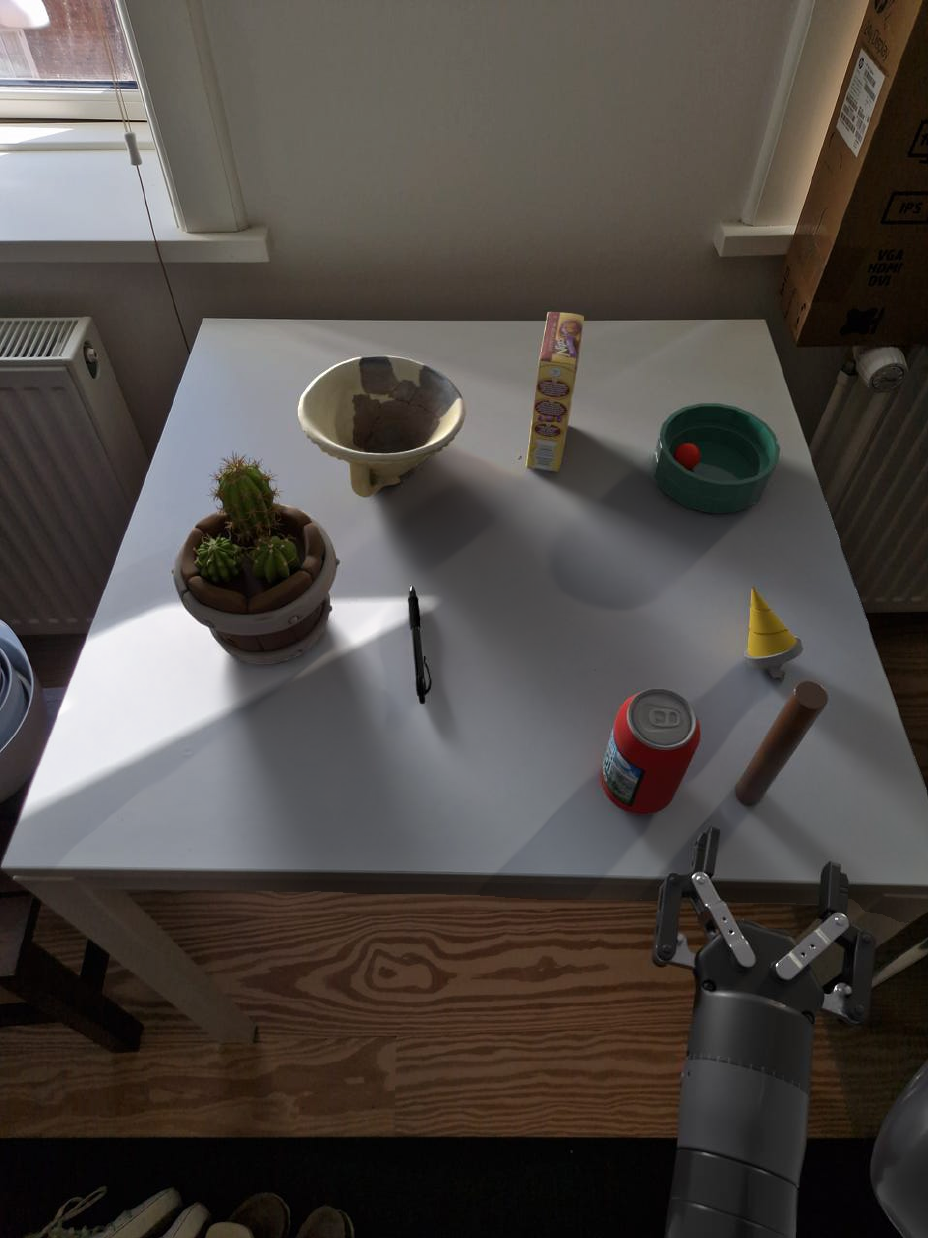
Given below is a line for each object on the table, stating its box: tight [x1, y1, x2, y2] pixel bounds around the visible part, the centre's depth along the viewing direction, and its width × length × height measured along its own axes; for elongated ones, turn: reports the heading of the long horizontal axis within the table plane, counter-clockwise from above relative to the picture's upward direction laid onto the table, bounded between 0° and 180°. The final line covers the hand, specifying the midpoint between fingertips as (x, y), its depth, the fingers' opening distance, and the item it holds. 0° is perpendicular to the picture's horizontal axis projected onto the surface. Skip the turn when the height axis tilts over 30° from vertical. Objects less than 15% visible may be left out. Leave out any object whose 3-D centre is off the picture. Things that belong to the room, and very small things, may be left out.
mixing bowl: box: [651, 402, 781, 514], centre depth 97 cm, size 13×13×5 cm
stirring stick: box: [734, 680, 829, 806], centre depth 69 cm, size 2×2×17 cm
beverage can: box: [600, 687, 702, 816], centre depth 71 cm, size 7×7×12 cm
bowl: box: [297, 355, 467, 499], centre depth 96 cm, size 18×18×10 cm
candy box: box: [525, 311, 585, 473], centre depth 96 cm, size 9×4×15 cm, turn 170°
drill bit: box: [743, 586, 804, 683], centre depth 82 cm, size 5×5×10 cm
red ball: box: [673, 443, 700, 469], centre depth 98 cm, size 3×3×3 cm
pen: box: [407, 585, 433, 705], centre depth 84 cm, size 14×2×1 cm, turn 6°
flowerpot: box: [171, 450, 341, 665], centre depth 78 cm, size 14×15×20 cm
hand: (770, 848), depth 62 cm, fingers open, 8 cm apart
